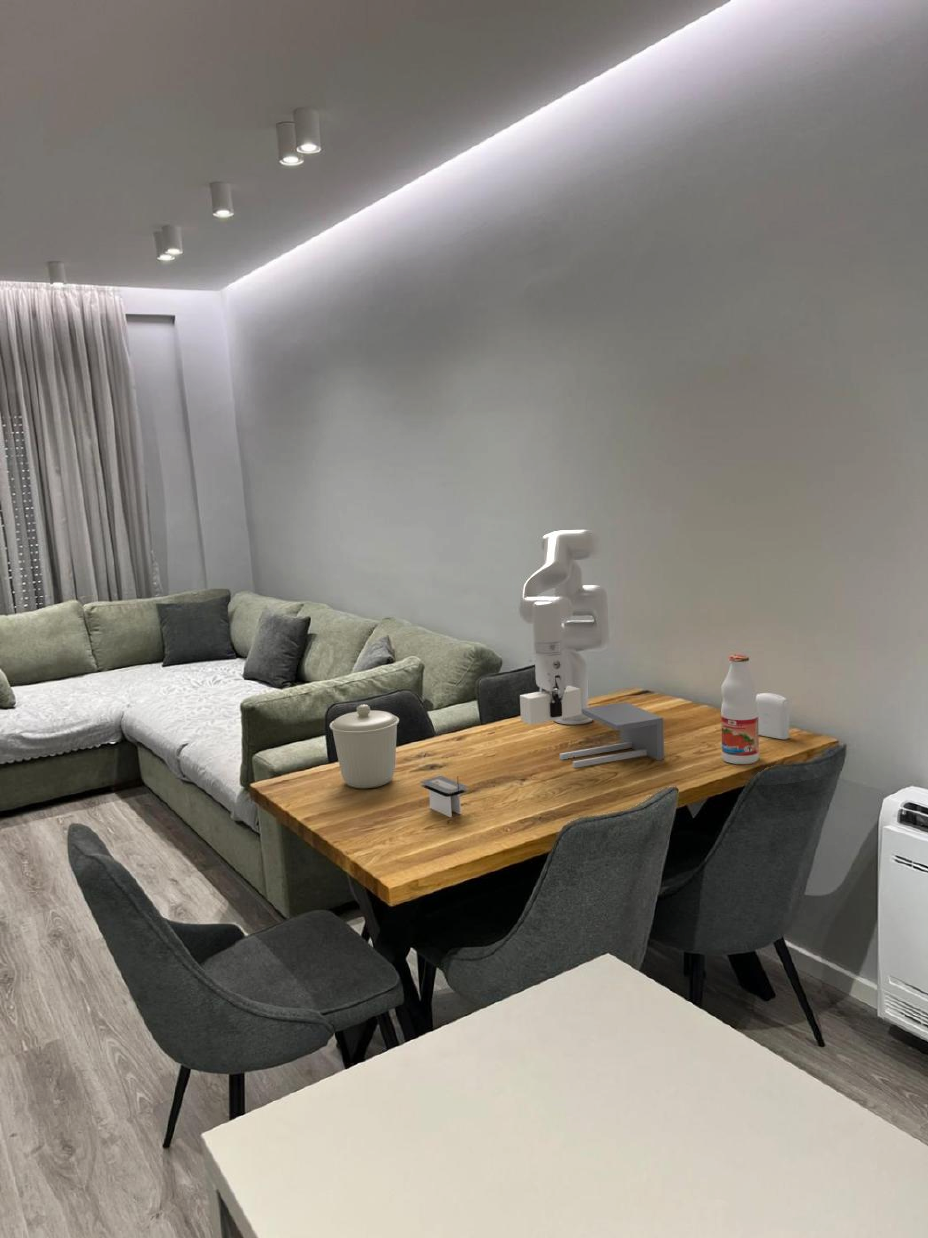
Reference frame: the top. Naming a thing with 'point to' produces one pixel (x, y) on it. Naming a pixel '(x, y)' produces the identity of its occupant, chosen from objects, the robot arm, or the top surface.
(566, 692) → the cream rectangular prism
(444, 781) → the architectural model
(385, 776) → the canister
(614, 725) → the overhang shelf
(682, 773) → the top surface
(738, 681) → the fruit juice
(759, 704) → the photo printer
